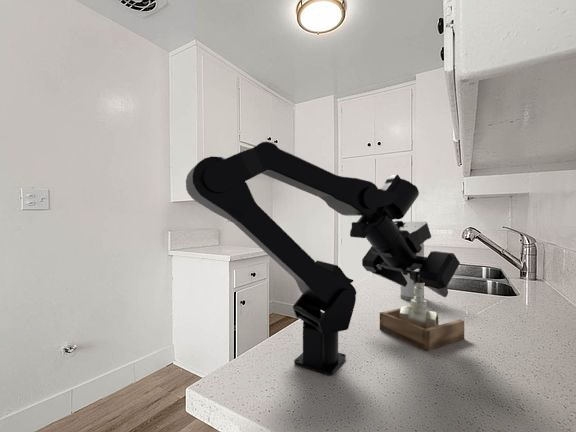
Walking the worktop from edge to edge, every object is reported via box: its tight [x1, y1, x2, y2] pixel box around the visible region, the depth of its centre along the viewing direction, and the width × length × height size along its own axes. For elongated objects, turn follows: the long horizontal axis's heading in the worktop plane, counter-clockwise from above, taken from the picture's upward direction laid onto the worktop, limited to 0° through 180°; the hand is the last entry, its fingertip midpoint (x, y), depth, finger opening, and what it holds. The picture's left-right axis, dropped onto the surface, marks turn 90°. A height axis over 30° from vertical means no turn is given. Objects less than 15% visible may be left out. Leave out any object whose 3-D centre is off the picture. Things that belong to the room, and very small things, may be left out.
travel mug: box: [400, 241, 425, 302], centre depth 83 cm, size 6×7×20 cm
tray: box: [379, 305, 465, 352], centre depth 57 cm, size 11×11×4 cm
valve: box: [399, 267, 440, 329], centre depth 57 cm, size 7×7×12 cm
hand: (424, 289), depth 58 cm, fingers open, 9 cm apart
